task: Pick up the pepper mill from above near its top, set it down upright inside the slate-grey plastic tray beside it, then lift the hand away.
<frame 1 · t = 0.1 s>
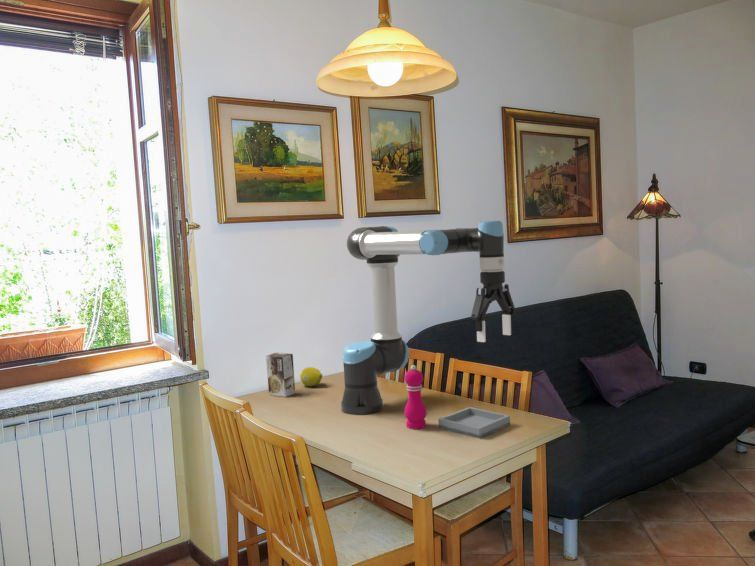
hand: (494, 338, 195), 28 cm above the table, tool pointing down, fingers open, 13 cm apart
coffee box: (282, 394, 249), on the table
tray: (474, 426, 197), on the table
pepper mill: (416, 426, 201), on the table
lemon: (311, 386, 259), on the table
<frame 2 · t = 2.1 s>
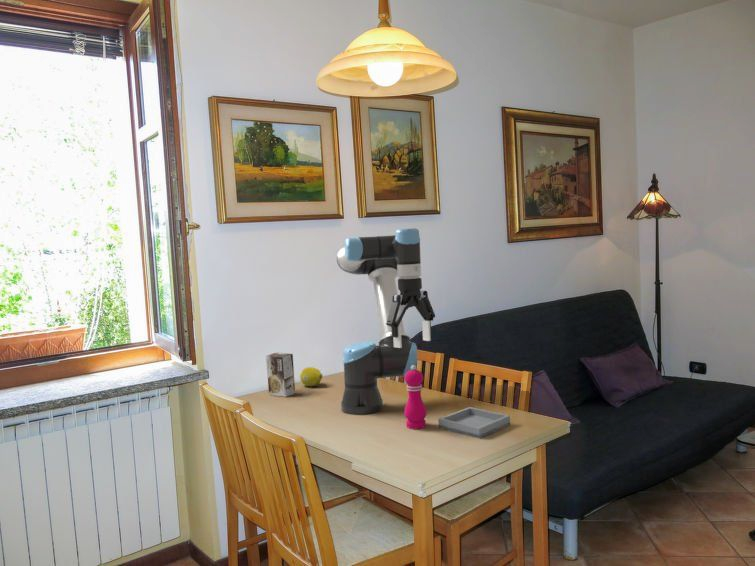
hand: (412, 344, 198), 27 cm above the table, tool pointing down, fingers open, 13 cm apart
nothing on the table moved.
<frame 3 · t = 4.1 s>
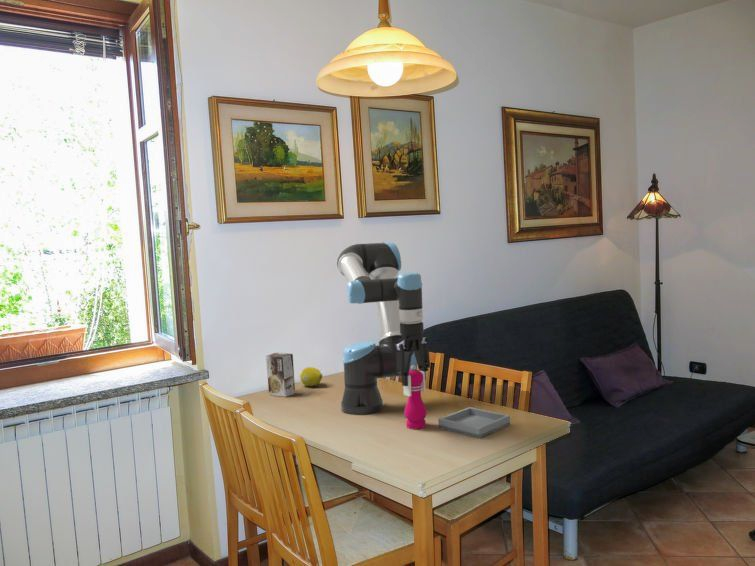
hand: (414, 393, 200), 11 cm above the table, tool pointing down, fingers closed on pepper mill, 6 cm apart
pepper mill: (416, 426, 201), on the table, touching gripper
everything else where it was.
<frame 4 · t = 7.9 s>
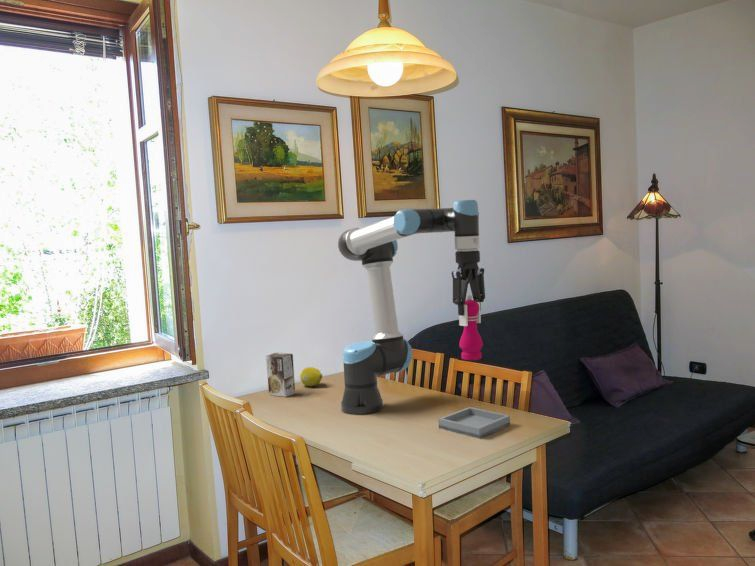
hand: (470, 324, 194), 33 cm above the table, tool pointing down, fingers closed on pepper mill, 6 cm apart
pepper mill: (471, 358, 195), point 22 cm above the table, touching gripper
everything else where it was.
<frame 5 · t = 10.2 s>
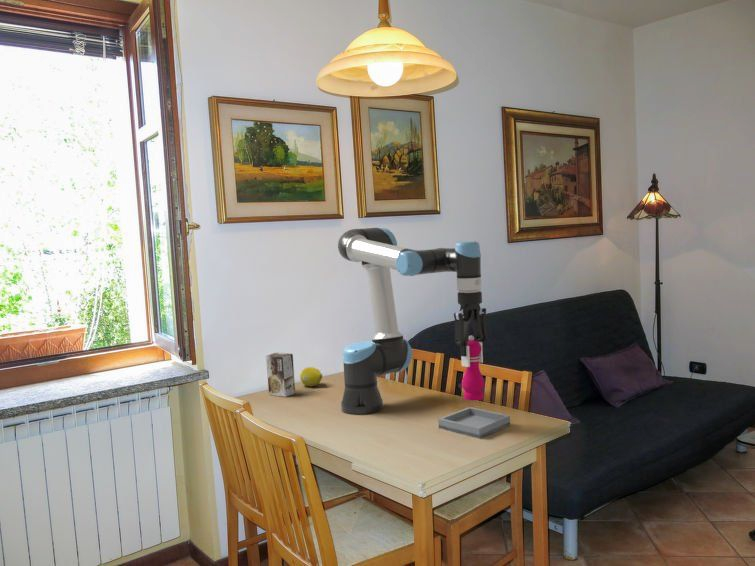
hand: (472, 364, 196), 20 cm above the table, tool pointing down, fingers closed on pepper mill, 6 cm apart
pepper mill: (473, 398, 196), point 9 cm above the table, touching gripper
everything else where it was.
when the fingers open (13 cm above the table, at t = 12.0 s): pepper mill stays where it is, resting on tray.
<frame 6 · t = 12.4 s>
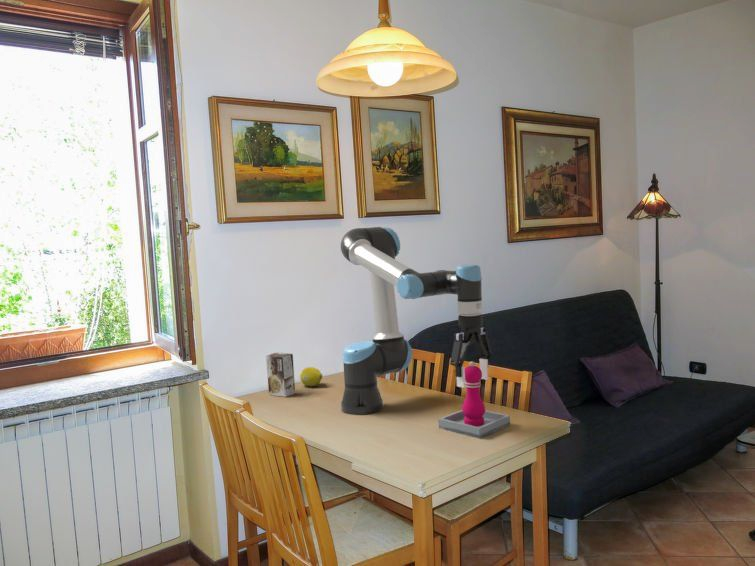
hand: (472, 382, 196), 14 cm above the table, tool pointing down, fingers open, 11 cm apart
pepper mill: (474, 423, 197), point 1 cm above the table, touching tray
everything else where it was.
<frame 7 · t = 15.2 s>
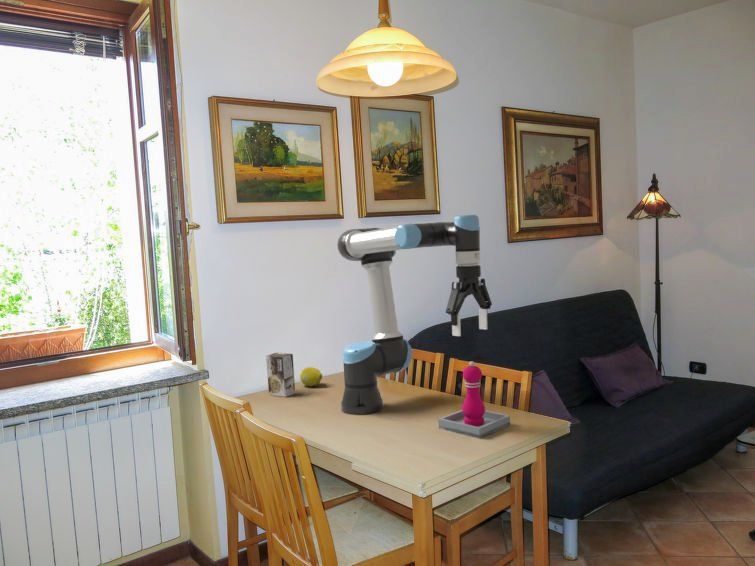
hand: (470, 332, 195), 30 cm above the table, tool pointing down, fingers open, 13 cm apart
nothing on the table moved.
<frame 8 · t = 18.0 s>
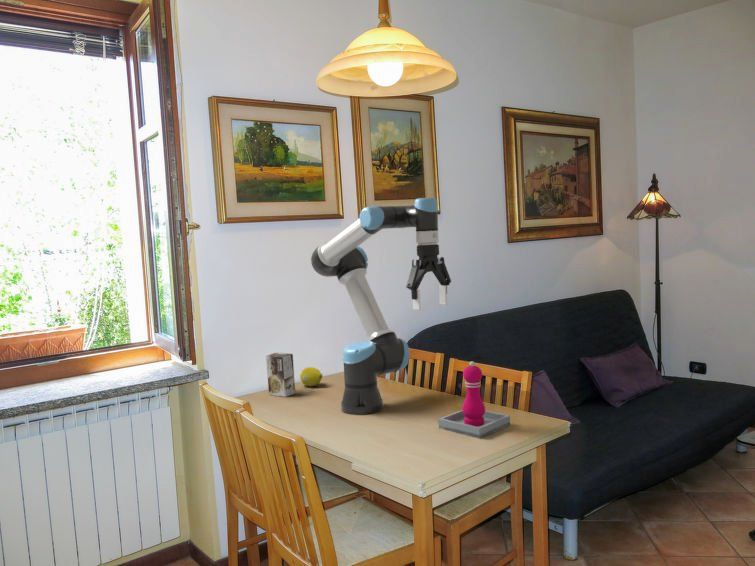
hand: (430, 306, 211), 37 cm above the table, tool pointing down, fingers open, 13 cm apart
nothing on the table moved.
at the end: pepper mill inside the target area on the tray (0.0 cm from its centre), point 0.8 cm above the tray's base; pepper mill tilted 0°; the gripper is holding nothing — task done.
